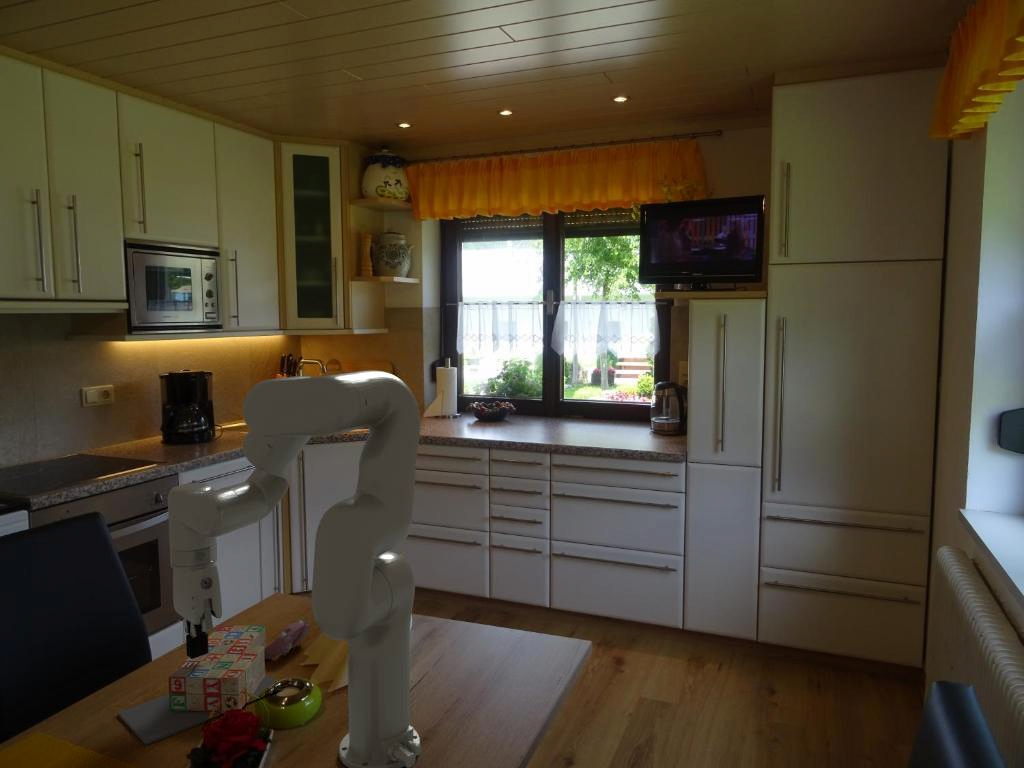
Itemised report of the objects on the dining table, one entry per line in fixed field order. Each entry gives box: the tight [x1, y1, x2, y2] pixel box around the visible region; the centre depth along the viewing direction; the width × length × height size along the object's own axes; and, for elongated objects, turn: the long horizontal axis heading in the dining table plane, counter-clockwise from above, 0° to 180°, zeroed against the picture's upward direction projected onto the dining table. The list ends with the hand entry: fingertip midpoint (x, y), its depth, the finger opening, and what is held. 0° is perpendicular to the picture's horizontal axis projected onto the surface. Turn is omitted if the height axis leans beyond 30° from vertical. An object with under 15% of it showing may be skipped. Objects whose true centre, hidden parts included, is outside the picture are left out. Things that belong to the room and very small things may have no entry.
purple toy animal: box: [264, 619, 311, 660], centre depth 148 cm, size 10×5×7 cm, turn 163°
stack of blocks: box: [167, 624, 267, 712], centre depth 135 cm, size 21×6×12 cm
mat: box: [117, 673, 278, 746], centre depth 129 cm, size 12×24×1 cm, turn 137°
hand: (197, 654), depth 129 cm, fingers closed
